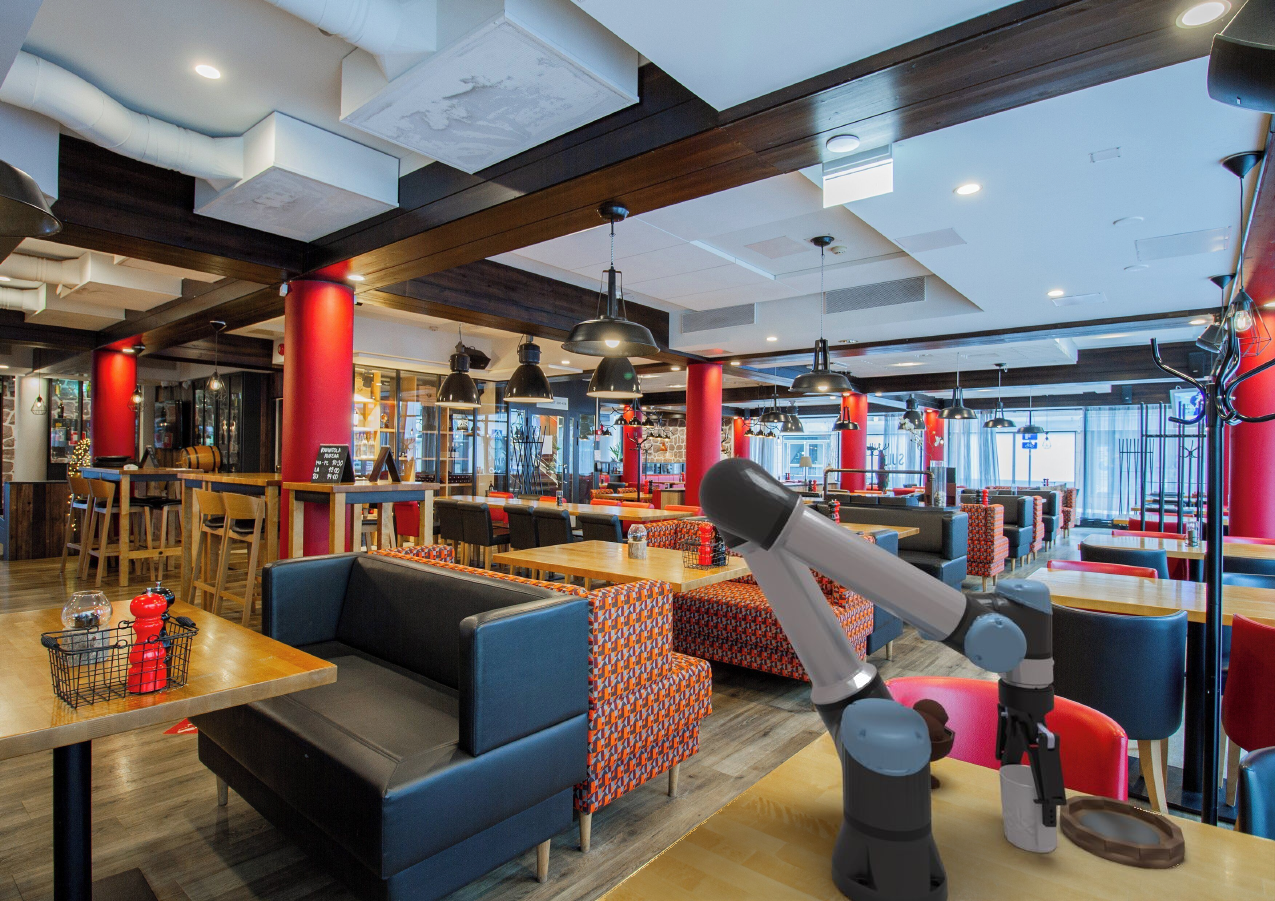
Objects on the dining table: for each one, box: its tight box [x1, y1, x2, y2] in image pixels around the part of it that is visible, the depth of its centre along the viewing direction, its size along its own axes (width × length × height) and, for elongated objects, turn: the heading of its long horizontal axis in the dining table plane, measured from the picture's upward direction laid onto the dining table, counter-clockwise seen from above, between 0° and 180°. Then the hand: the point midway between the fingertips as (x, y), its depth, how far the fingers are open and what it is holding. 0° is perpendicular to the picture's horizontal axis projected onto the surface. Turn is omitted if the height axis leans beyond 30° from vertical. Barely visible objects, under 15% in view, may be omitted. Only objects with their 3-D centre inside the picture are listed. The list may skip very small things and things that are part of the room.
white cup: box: [998, 764, 1059, 854], centre depth 103 cm, size 8×8×10 cm
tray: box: [1059, 795, 1186, 870], centre depth 104 cm, size 16×16×3 cm
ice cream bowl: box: [912, 698, 956, 791], centre depth 123 cm, size 11×11×15 cm
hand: (1029, 828), depth 103 cm, fingers open, 9 cm apart
